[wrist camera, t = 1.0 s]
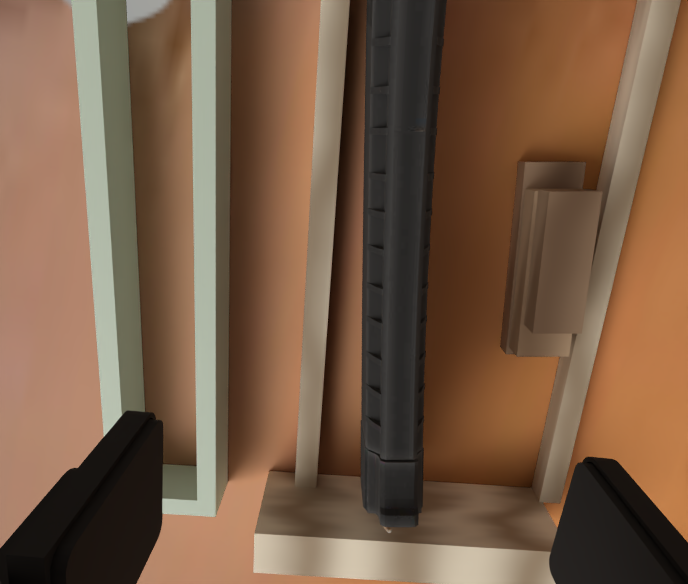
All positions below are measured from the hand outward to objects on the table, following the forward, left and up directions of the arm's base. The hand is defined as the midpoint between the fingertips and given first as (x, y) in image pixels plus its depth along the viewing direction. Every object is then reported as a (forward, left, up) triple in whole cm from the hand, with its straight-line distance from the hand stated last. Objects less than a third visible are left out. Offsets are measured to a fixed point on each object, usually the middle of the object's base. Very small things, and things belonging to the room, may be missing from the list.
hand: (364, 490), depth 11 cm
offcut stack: (-12, -1, -22) cm, 24 cm away
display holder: (+11, -1, -21) cm, 24 cm away
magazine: (-2, -1, -22) cm, 22 cm away
